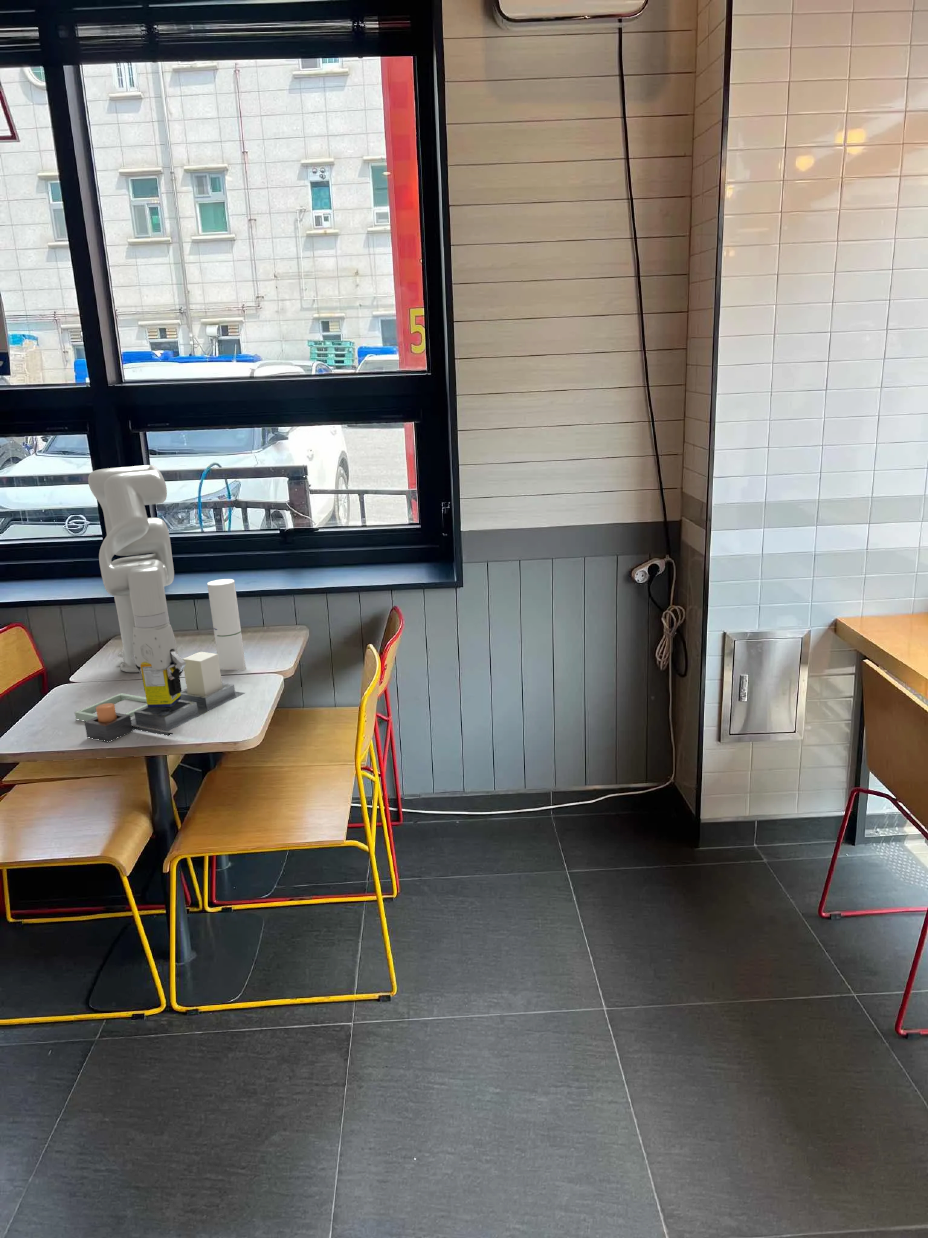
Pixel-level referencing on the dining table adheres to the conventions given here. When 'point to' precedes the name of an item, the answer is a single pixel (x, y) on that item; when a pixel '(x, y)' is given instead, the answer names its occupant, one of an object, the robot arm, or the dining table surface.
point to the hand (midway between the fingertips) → (163, 691)
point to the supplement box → (157, 687)
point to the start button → (106, 713)
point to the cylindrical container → (226, 624)
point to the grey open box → (181, 710)
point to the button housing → (108, 728)
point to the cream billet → (202, 673)
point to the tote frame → (88, 712)
